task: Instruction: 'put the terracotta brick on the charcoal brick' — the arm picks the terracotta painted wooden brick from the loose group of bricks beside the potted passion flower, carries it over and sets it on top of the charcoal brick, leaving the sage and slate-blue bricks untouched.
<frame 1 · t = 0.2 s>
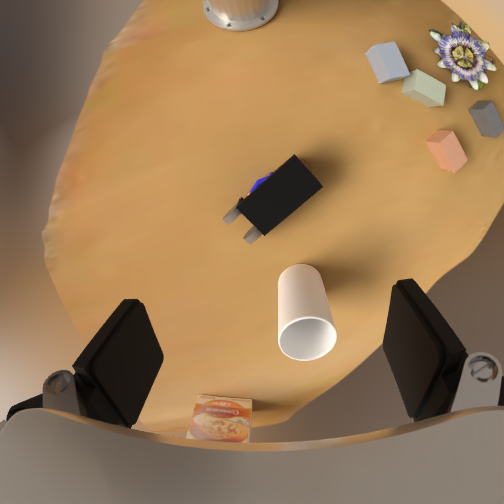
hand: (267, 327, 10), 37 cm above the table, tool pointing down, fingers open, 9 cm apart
cup: (300, 283, 51), on the table
terracotta brick: (439, 149, 38), on the table
charcoal brick: (479, 118, 34), on the table
coffeecake box: (225, 402, 68), on the table
slate-blue brick: (381, 66, 34), on the table
passion flower: (452, 59, 30), on the table
figurine character: (271, 193, 45), on the table
sage brick: (417, 90, 35), on the table
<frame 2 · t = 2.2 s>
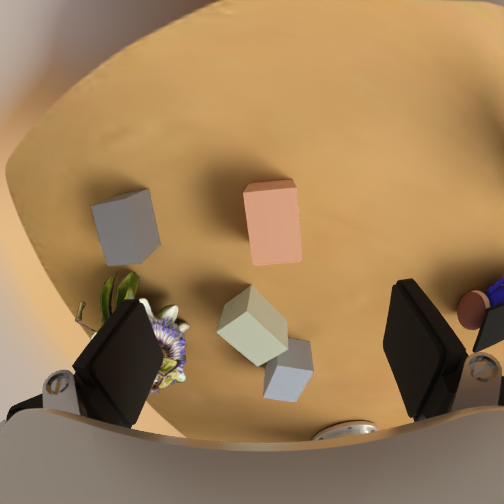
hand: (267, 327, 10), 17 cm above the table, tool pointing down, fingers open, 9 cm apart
terracotta brick: (274, 212, 26), on the table
charcoal brick: (138, 219, 27), on the table
slate-blue brick: (286, 355, 32), on the table
passion flower: (149, 318, 32), on the table
figurine character: (488, 292, 27), on the table
sage brick: (256, 312, 30), on the table
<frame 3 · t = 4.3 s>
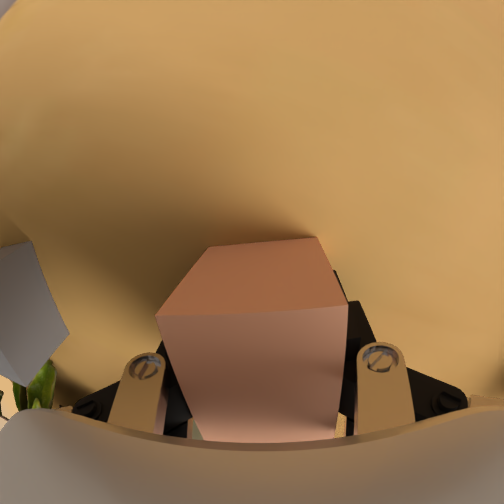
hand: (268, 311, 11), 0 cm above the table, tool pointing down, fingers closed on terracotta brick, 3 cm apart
terracotta brick: (269, 313, 11), on the table, touching gripper
charcoal brick: (32, 289, 12), on the table
passion flower: (89, 411, 18), on the table
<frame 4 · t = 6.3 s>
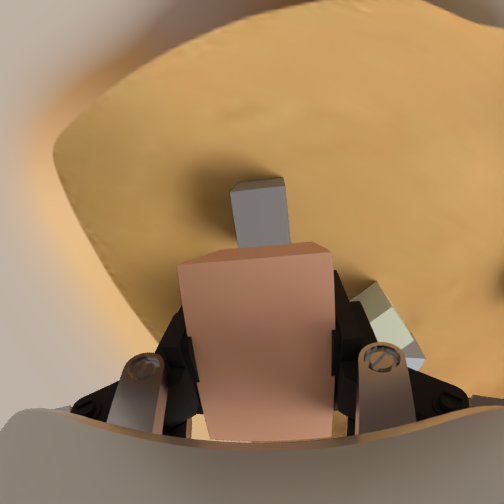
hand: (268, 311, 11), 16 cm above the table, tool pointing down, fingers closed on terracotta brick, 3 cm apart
terracotta brick: (271, 313, 12), point 14 cm above the table, tilted 18°, touching gripper
charcoal brick: (264, 211, 25), on the table
slate-blue brick: (389, 349, 30), on the table
sage brick: (374, 308, 28), on the table
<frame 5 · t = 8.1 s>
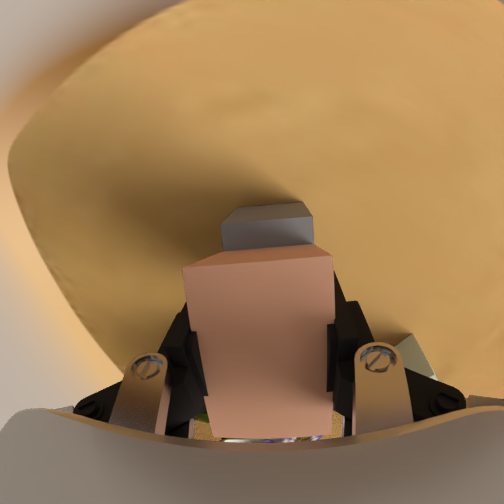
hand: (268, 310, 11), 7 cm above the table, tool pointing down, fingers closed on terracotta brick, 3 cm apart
terracotta brick: (272, 313, 12), point 6 cm above the table, tilted 17°, touching charcoal brick, gripper
charcoal brick: (274, 252, 17), on the table, touching terracotta brick
passion flower: (258, 382, 23), on the table
sage brick: (404, 362, 20), on the table
when the fingers open (7 cm above the table, at t = 8.3 s): terracotta brick moves 1 cm, resting on charcoal brick.
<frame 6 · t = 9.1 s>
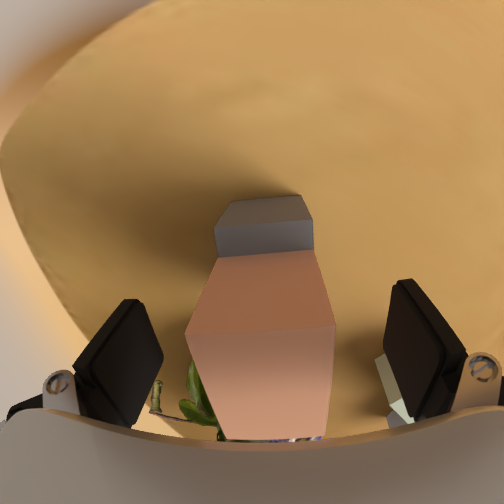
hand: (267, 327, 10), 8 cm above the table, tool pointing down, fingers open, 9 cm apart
terracotta brick: (271, 313, 13), point 5 cm above the table, touching charcoal brick
charcoal brick: (271, 246, 17), on the table, touching terracotta brick
passion flower: (254, 383, 22), on the table
sage brick: (405, 362, 20), on the table
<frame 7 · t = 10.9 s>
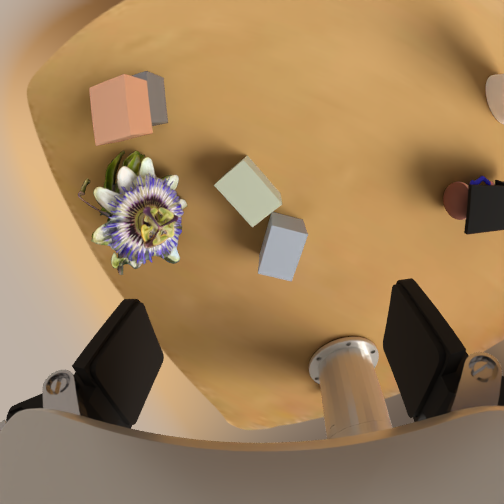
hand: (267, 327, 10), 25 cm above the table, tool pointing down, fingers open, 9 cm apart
cup: (500, 99, 22), on the table
terracotta brick: (133, 111, 24), point 5 cm above the table, touching charcoal brick
charcoal brick: (150, 103, 28), on the table, touching terracotta brick
slate-blue brick: (280, 237, 35), on the table
passion flower: (148, 201, 34), on the table
figurine character: (473, 194, 30), on the table
sage brick: (251, 184, 32), on the table
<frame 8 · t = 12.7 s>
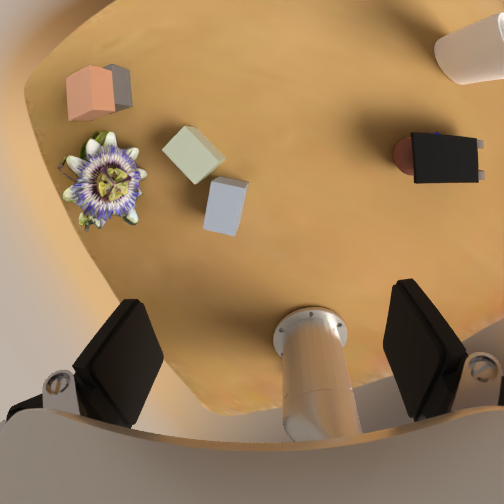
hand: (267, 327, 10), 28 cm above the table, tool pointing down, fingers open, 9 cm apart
cup: (453, 60, 24), on the table
terracotta brick: (101, 95, 27), point 5 cm above the table, touching charcoal brick
charcoal brick: (119, 91, 31), on the table, touching terracotta brick
slate-blue brick: (229, 200, 37), on the table
passion flower: (117, 175, 36), on the table
figurine character: (431, 154, 31), on the table
sage brick: (200, 153, 34), on the table
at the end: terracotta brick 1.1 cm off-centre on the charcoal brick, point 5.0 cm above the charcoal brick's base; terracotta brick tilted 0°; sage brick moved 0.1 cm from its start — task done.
